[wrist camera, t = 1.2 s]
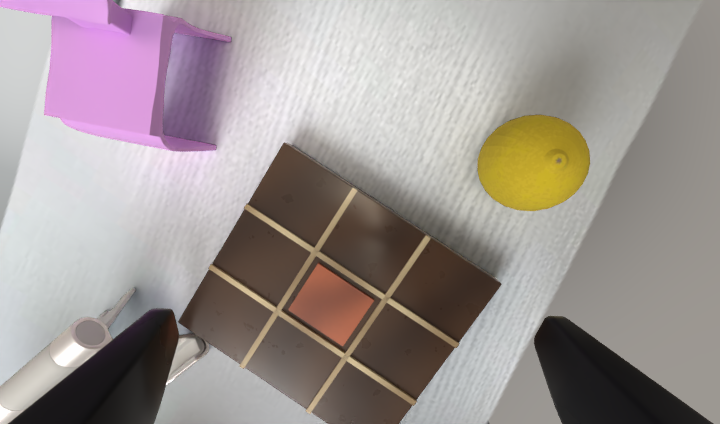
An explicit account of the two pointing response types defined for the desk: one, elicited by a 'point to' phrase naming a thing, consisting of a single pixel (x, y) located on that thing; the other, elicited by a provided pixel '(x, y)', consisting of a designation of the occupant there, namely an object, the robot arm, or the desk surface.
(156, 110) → the toy chair
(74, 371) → the robot arm
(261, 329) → the board
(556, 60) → the desk surface
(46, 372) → the tablet stand
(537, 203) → the lemon
